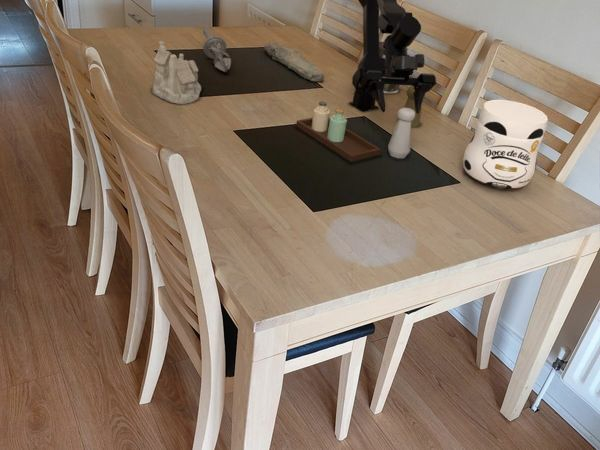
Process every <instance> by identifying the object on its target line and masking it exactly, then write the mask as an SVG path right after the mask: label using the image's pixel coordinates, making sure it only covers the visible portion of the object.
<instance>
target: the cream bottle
mask: <svg viewBox="0 0 600 450" xmlns="http://www.w3.org/2000/svg"><path fill="white" fill-rule="evenodd" d="M327 105H328V102H326V101H319V102H318V106H316V107H315V108H313V112H312V118H313V119H312V127H311V128H312V129H313V130H315V131H318V132H324V131H327V128H328V122H329V118H330V113H331V111H330V110H329V108H328V107H327Z"/></svg>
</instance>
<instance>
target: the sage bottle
mask: <svg viewBox="0 0 600 450" xmlns="http://www.w3.org/2000/svg"><path fill="white" fill-rule="evenodd" d="M344 112H345V111H344V109H341V108H337V109H336V110H335V114H333V115H332V116H329V118H330V123H329V129H328V136H327V138H328V139H329V140H330V141H333V142H342V141H343V140H344V134H345V128H347V123H348V120H347V118H346V117H345V115H344V114H345V113H344Z"/></svg>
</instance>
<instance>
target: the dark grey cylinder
mask: <svg viewBox="0 0 600 450" xmlns="http://www.w3.org/2000/svg"><path fill="white" fill-rule="evenodd" d="M383 44H384V41H379V54H380V56H381V57H382V58H384V59H385V61H386V58H385V48H383ZM408 50H409V49H408V48H407V51H408ZM385 63H386V62H385ZM385 69H386V68H385ZM386 72H387V70H386ZM399 90H400V85H390V84H384V88H383V91H384V94H385V95H386V94H387V95H388V94H389V95H390V94H391V95H393V94H397V93H398V92H399Z"/></svg>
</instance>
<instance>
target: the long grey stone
mask: <svg viewBox="0 0 600 450" xmlns="http://www.w3.org/2000/svg"><path fill="white" fill-rule="evenodd" d="M263 50H264V51H265V52H266V53H267V54H268V55H269V57H271V60H275V61H277V62H279V64H282V65H285V66H286V67H287V69H289V70H292V71H293V72H294V73H295V74H297V75H298V76H299V77H301V78H304V79H306V80H308V81H311V82H323V80H324V77H325V75H324V72H323V70H322V69H320V68H319V67H317V65H315V64H314V63H312V62H310V61H309V60H307V59H306V58H305V57H303V56H302V54H301V53H300V52H299V51H297V50H295V49H293V48H291V47H290V46H289V47H288V46H286V45H283V44H280V43H278V42H272V41H267V42H266V43H264V48H263Z"/></svg>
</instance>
